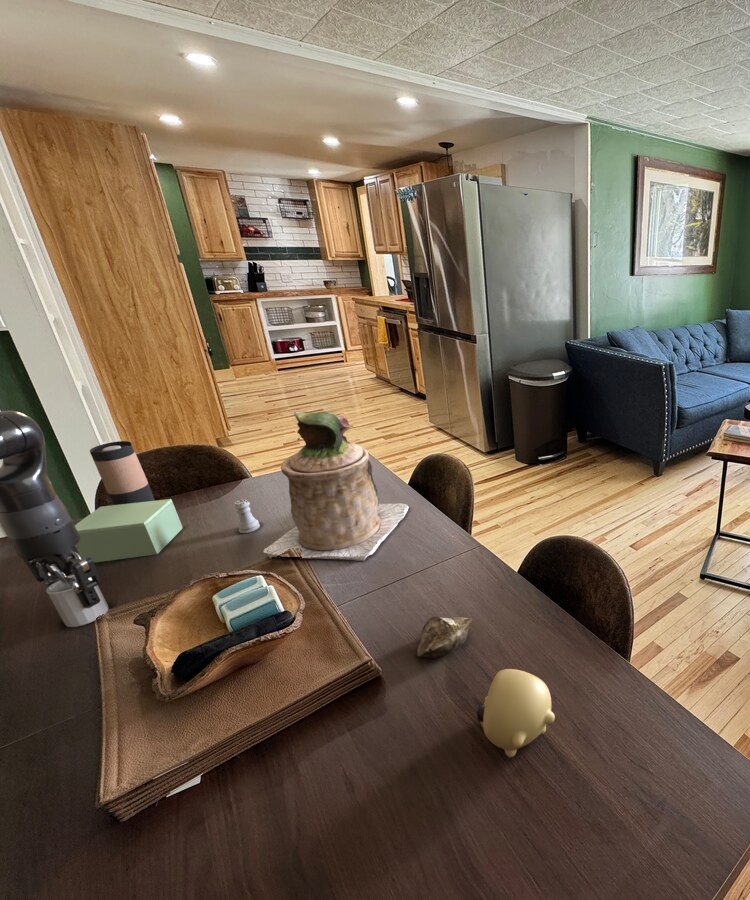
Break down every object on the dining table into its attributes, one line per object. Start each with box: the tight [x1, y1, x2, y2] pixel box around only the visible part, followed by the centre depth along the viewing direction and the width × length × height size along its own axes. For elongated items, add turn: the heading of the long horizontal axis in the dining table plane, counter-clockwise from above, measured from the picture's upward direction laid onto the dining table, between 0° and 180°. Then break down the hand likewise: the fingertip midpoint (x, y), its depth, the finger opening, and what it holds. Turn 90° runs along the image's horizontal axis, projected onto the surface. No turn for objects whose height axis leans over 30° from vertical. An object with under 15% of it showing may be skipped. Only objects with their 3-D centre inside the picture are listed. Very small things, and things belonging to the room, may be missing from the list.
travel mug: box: [89, 440, 156, 505], centre depth 120 cm, size 8×8×20 cm
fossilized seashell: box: [416, 616, 473, 659], centre depth 83 cm, size 8×7×10 cm
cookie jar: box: [263, 410, 410, 562], centre depth 111 cm, size 25×25×32 cm
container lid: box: [74, 498, 173, 534], centre depth 109 cm, size 14×12×1 cm
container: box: [74, 501, 184, 564], centre depth 110 cm, size 14×12×8 cm
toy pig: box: [476, 668, 556, 758], centre depth 67 cm, size 10×12×11 cm
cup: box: [45, 574, 110, 628], centre depth 89 cm, size 6×6×8 cm
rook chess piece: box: [233, 498, 261, 534], centre depth 117 cm, size 4×4×8 cm
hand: (79, 601), depth 89 cm, fingers closed on cup, 6 cm apart
